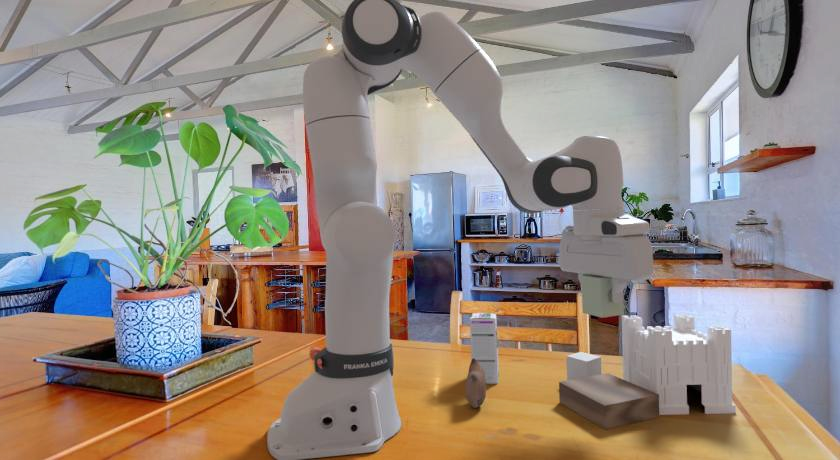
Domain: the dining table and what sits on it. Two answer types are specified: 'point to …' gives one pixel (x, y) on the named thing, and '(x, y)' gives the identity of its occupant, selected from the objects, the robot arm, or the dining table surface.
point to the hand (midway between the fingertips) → (602, 299)
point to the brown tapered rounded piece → (475, 384)
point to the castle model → (679, 363)
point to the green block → (599, 297)
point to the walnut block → (609, 400)
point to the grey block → (583, 365)
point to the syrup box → (485, 344)
